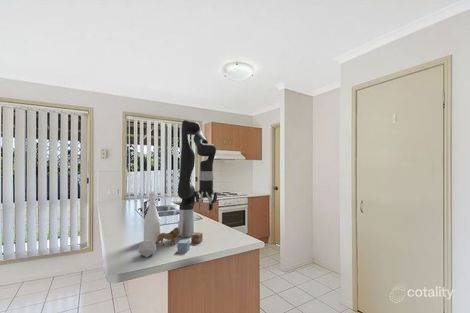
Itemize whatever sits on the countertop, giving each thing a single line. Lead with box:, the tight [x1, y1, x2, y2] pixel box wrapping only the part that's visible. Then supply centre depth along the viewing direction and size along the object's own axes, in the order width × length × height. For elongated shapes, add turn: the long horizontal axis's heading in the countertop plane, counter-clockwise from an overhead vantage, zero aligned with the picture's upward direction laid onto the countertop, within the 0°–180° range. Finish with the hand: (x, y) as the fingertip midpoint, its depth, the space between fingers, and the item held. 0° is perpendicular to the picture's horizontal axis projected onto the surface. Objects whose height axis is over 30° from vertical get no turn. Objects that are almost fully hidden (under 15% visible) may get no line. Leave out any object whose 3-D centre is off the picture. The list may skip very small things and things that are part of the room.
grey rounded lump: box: [137, 239, 157, 258], centre depth 122 cm, size 8×9×10 cm
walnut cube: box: [190, 232, 203, 245], centre depth 142 cm, size 5×5×5 cm
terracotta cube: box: [199, 200, 213, 213], centre depth 132 cm, size 5×5×5 cm
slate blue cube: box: [177, 239, 190, 253], centre depth 128 cm, size 5×5×5 cm
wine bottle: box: [143, 190, 161, 243], centre depth 144 cm, size 10×10×30 cm
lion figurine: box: [155, 226, 180, 247], centre depth 139 cm, size 15×5×9 cm, turn 116°
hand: (206, 210), depth 132 cm, fingers closed on terracotta cube, 5 cm apart
